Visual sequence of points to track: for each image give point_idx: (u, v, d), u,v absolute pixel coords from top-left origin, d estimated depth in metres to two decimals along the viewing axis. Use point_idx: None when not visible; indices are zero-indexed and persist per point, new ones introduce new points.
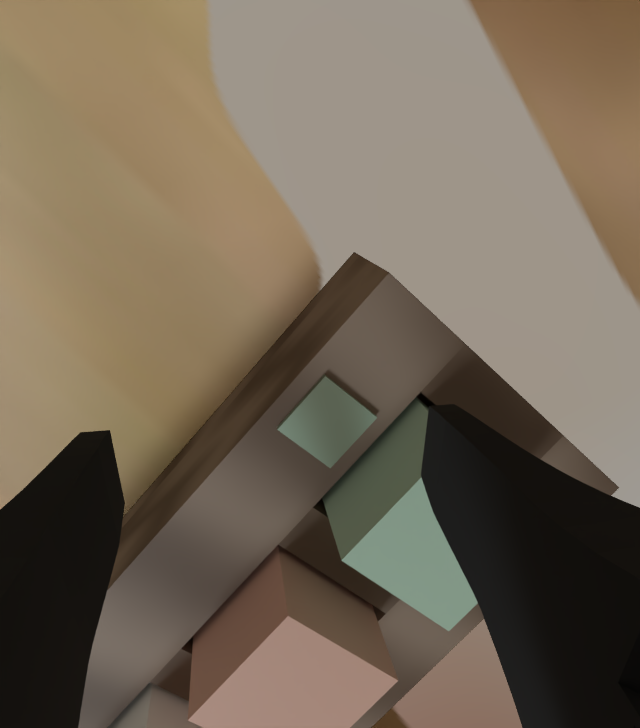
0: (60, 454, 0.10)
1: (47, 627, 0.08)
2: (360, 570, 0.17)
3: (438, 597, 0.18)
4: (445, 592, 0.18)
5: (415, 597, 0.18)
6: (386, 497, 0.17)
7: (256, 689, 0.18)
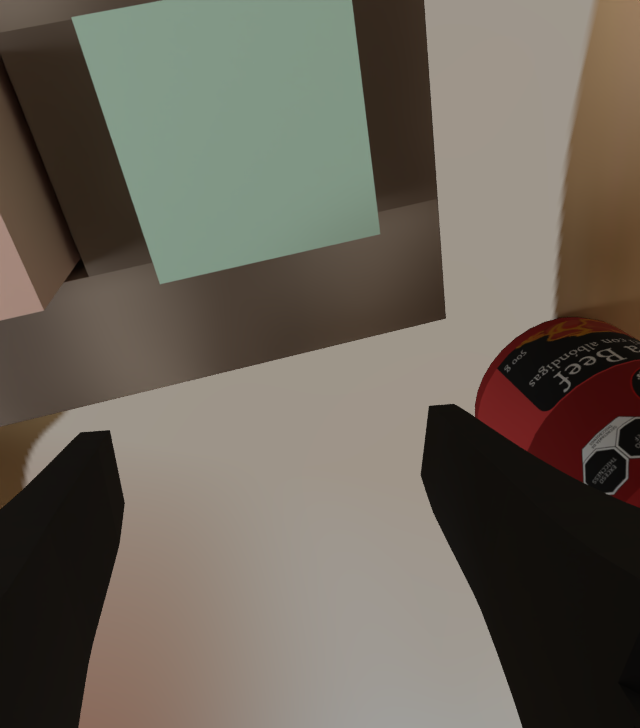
0: (60, 454, 0.10)
1: (47, 627, 0.08)
2: (91, 64, 0.10)
3: (177, 215, 0.11)
4: (191, 215, 0.11)
5: (145, 188, 0.11)
6: None
7: None
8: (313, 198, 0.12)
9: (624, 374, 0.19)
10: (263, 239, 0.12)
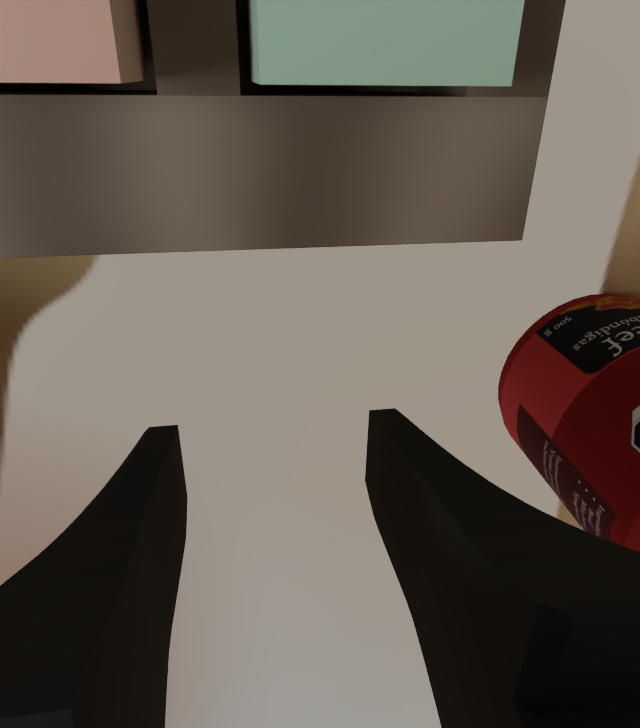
0: (137, 448, 0.11)
1: (145, 615, 0.08)
2: None
3: (301, 0, 0.10)
4: (316, 5, 0.10)
5: None
6: None
7: None
8: (453, 21, 0.10)
9: None
10: (386, 58, 0.10)
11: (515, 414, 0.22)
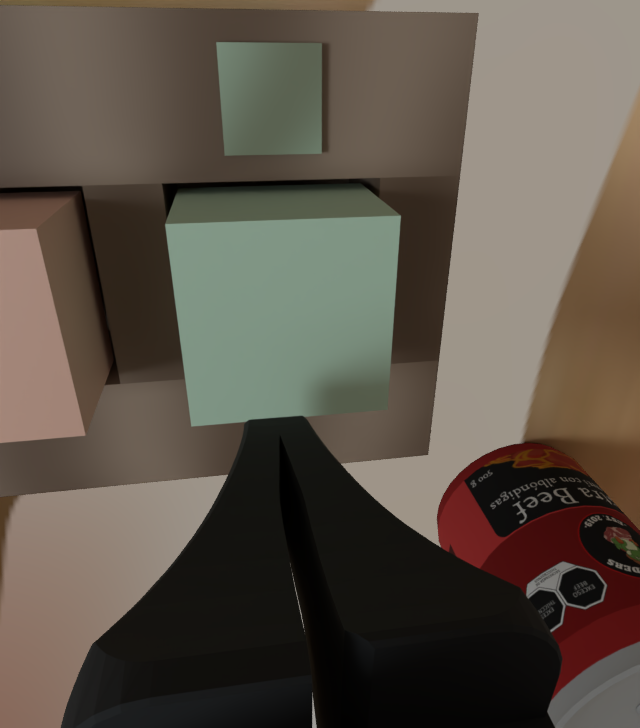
0: (247, 439, 0.11)
1: None
2: (173, 259, 0.12)
3: (218, 377, 0.13)
4: (230, 378, 0.13)
5: (196, 353, 0.13)
6: (274, 214, 0.12)
7: None
8: (337, 377, 0.14)
9: (573, 519, 0.21)
10: (287, 402, 0.14)
11: (447, 550, 0.26)
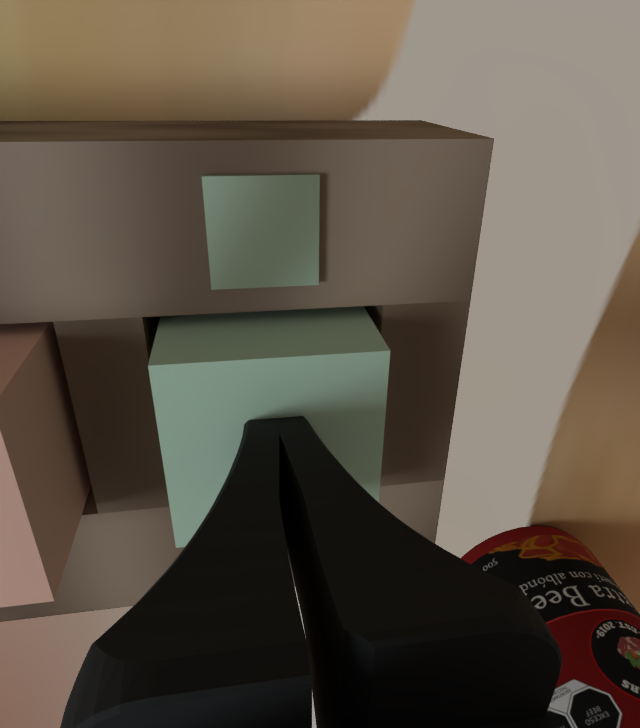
0: (247, 439, 0.11)
1: None
2: (156, 397, 0.11)
3: (203, 502, 0.13)
4: None
5: (181, 482, 0.12)
6: (261, 347, 0.12)
7: None
8: None
9: (585, 626, 0.20)
10: None
11: None
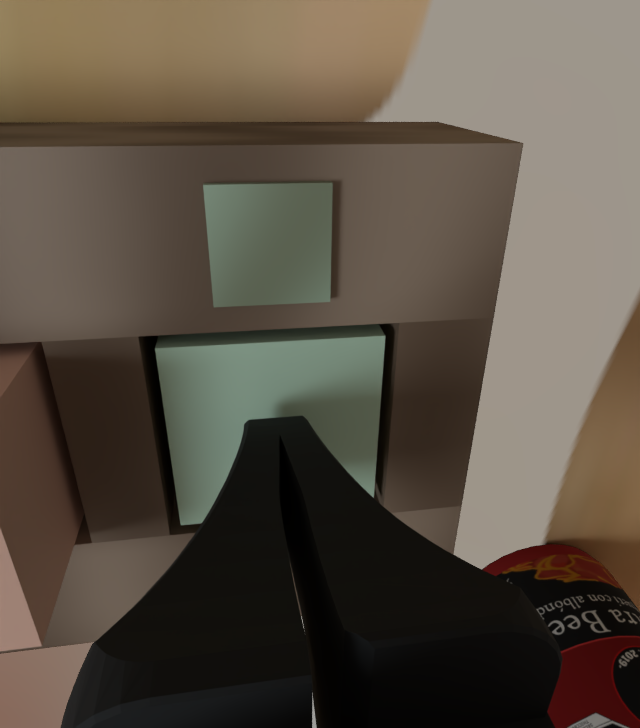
0: (247, 439, 0.11)
1: None
2: (163, 379, 0.12)
3: (207, 481, 0.13)
4: (219, 482, 0.14)
5: (186, 461, 0.13)
6: (262, 332, 0.12)
7: None
8: None
9: (606, 655, 0.19)
10: None
11: None
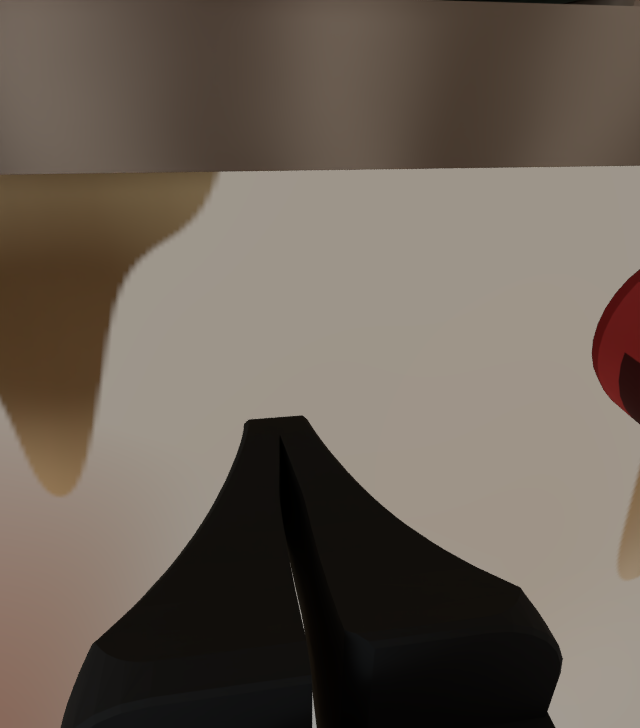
0: (247, 439, 0.11)
1: None
2: None
3: None
4: None
5: None
6: None
7: None
8: None
9: None
10: None
11: (617, 364, 0.22)
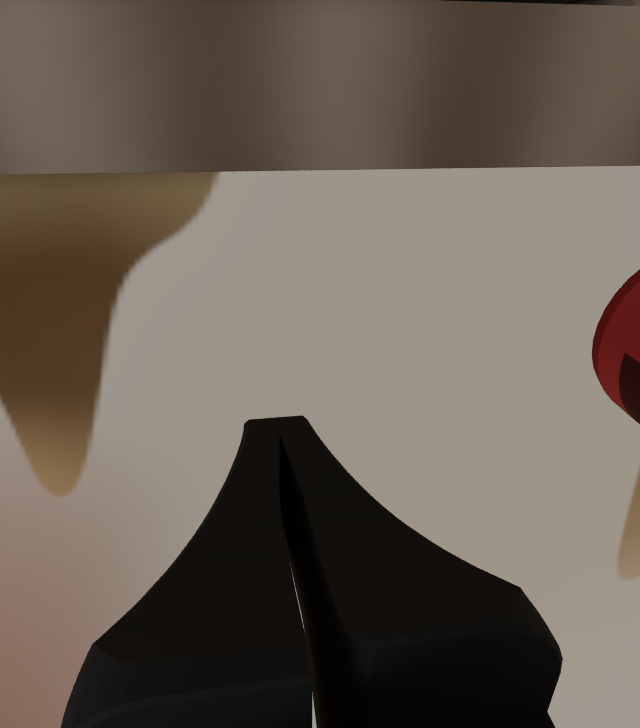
0: (247, 439, 0.11)
1: None
2: None
3: None
4: None
5: None
6: None
7: None
8: None
9: None
10: None
11: (617, 364, 0.22)
